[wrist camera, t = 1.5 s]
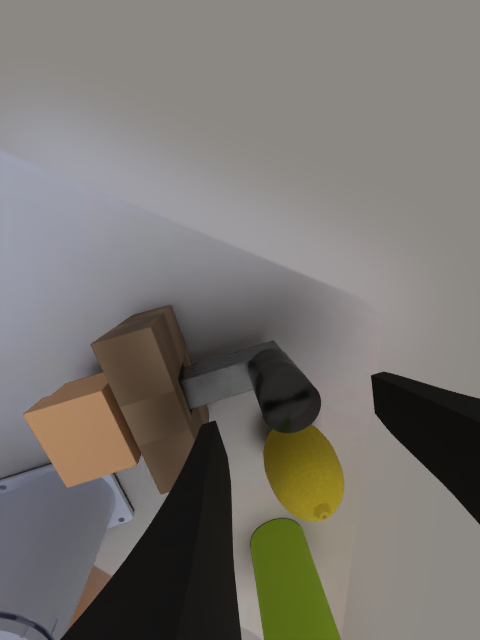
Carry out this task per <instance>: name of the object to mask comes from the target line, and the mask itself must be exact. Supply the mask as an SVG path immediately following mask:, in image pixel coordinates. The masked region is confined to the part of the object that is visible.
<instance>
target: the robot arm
mask: <svg viewBox="0 0 480 640" xmlns="http://www.w3.org/2000/svg"><path fill="white" fill-rule="evenodd" d="M371 379H372V389H373V399H374V409H375V414H376V415H377V416H378V418H379V419H380V420H381V422H382V423H383V424H384V425H385V426H386V428H387V429H388V430H389V431H390V432H391V434H393V435H394V437H395V438H396V439H397V440H398V441H399V442H400V443H402V444H403V445H404V446H405V447H406V448H407V449H408V450H409V451H410V452H411V453H412V454H413V455H414V456H415V457H416V458H417V459H418V460H419V461H420V462H421V463H422V464H423V465H424V466H425V467H426V468H427V469H428V470H429V471H430V472H431V473H432V474H433V475H434V476H436V478H437V479H439V480H440V481H441V482H442V483H443V484H444V486H446V487H447V489H448V490H449V491H451V493H452V494H453V495H454V496H455V497H456V498H457V499H458V500H459V502H460V503H461V504H462V505H463V506H464V507H465V508H466V509H467V511H468V512H469V513H470V514H471V515H472V516H473V517H474V518H475V519H476V521H477V522H478V523H479V524H480V399H479V398H475V397H471V396H467V395H463V394H459V393H456V392H452V391H448V390H445V389H442V388H438V387H435V386H431V385H428V384H425V383H422V382H419V381H415V380H412V379H409V378H405V377H402V376H399V375H395V374H391V373H387V372H381V373H377V374H374V375H371ZM133 515H134V512H133V510H132V508H131V507H130V505H129V503H128V501H127V499H126V497H125V495H124V493H123V491H122V489H121V488H120V486H119V484H118V482H117V480H116V478H115V476H114V474H113V473H112V474H109V475H106V476H103V477H99V478H96V479H93V480H90V481H87V482H84V483H81V484H78V485H75V486H72V487H69V488H67V487H66V485H65V484H64V482H63V481H62V479H61V477H60V476H59V474H58V472H57V471H56V469H55V467H54V466H53V464H50V465H47V466H44V467H40V468H37V469H34V470H31V471H28V472H24V473H21V474H18V475H15V476H12V477H9V478H5V479H2V480H0V640H242V639H241V630H240V621H239V611H238V602H237V592H236V582H235V572H234V560H233V537H232V500H231V479H230V471H229V463H228V457H227V454H226V451H225V448H224V445H223V441H222V438H221V435H220V432H219V429H218V426H217V423H216V421H212V422H209V423H206V424H202V425H201V427H200V429H199V432H198V434H197V437H196V439H195V441H194V444H193V446H192V448H191V451H190V453H189V455H188V457H187V459H186V461H185V463H184V465H183V468H182V470H181V472H180V474H179V475H178V477H177V479H176V481H175V483H174V485H173V487H172V489H171V490H170V492H169V494H168V496H167V498H166V499H165V501H164V503H163V504H162V506H161V508H160V509H159V511H158V513H157V514H156V516H155V517H154V519H153V521H152V522H151V524H150V525H149V527H148V528H147V530H146V531H145V533H144V534H143V536H142V537H141V538H140V540H139V541H138V543H137V544H136V546H135V547H134V548H133V550H132V551H131V553H130V554H129V555H128V557H127V558H126V560H125V561H124V562H123V564H122V565H121V566H120V567H119V569H118V570H117V571H116V573H115V574H114V575H113V577H112V578H111V579H110V581H109V582H108V583H107V584H106V586H105V587H104V588H103V589H102V590H101V592H100V593H99V594H98V595H97V597H96V598H95V599H94V600H93V602H92V603H91V604H90V605H89V606H88V608H87V609H86V610H85V611H84V612H83V614H82V615H81V616H80V617H79V618H78V620H77V621H76V622H75V623H74V624H73V625H72V626H71V628H70V629H69V626H70V623H71V621H72V618H73V616H74V613H75V610H76V608H77V605H78V603H79V600H80V597H81V595H82V592H83V589H84V587H85V584H86V582H87V579H88V577H89V574H90V571H91V569H92V566H93V563H94V561H95V558H96V556H97V553H98V550H99V548H100V545H101V543H102V540H103V537H104V535H105V532H106V530H107V529H108V528H111V527H114V526H117V525H120V524H123V523H126V522H129V521H131V520H132V518H133ZM68 629H69V630H68Z"/></svg>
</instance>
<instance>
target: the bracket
mask: <svg viewBox="0 0 480 640" xmlns="http://www.w3.org/2000/svg"><path fill="white" fill-rule="evenodd" d="M90 345H91V347H92V349H93V351H94V353H95V356H96V358H97V360H98V362H99V364H100V366H101V368H102V370H103V373H104V375H105V377H106V379H107V381H108V383H109V385H110V387H111V390H112V392H113V394H114V396H115V398H116V400H117V402H118V405H119V407H120V409H121V411H122V413H123V415H124V417H125V419H126V422H127V424H128V426H129V428H130V430H131V432H132V434H133V436H134V439H135V441H136V443H137V445H138V447H139V449H140V451H141V454H142V456H143V458H144V460H145V462H146V464H147V466H148V468H149V471H150V473H151V475H152V477H153V479H154V481H155V483H156V485H157V488H158V490H159V492H160V494H164V493H167V492H170V490H171V489H172V487H173V485H174V483H175V481H176V479H177V477H178V475H179V474H180V472H181V470H182V468H183V465H184V463H185V461H186V459H187V457H188V455H189V453H190V451H191V448H192V446H193V444H194V441H195V439H196V437H197V434H198V432H199V429H200V427H201V425H202V424H206V423H209V411H208V409H207V406H206V404H205V405H202V406H199V407H196V408H192V409H189V408H188V405H187V403H186V400H185V397H184V395H183V392H182V390H181V387H180V384H179V382H178V377H179V373H180V370H181V368H183V367H186V366H190V365H192V363H191V360H190V357H189V355H188V352H187V349H186V346H185V343H184V340H183V337H182V335H181V332H180V329H179V326H178V323H177V320H176V318H175V315H174V312H173V309H172V306H171V305H168V306H164V307H161V308H157V309H154V310H150V311H147V312H143V313H140V314H136V315H133V316H131V317H130V318H128V319H127V320H125V321H124V322H122V323H121V324H119V325H118V326H116V327H115V328H113V329H112V330H111V331H109V332H108V333H106V334H105V335H103V336H102V337H100V338H99V339H97V340H96V341H95V342H93V343H92V344H90Z"/></svg>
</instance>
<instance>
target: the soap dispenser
mask: <svg viewBox="0 0 480 640" xmlns="http://www.w3.org/2000/svg"><path fill="white" fill-rule="evenodd" d="M250 547H251V554H252V561H253V567H254V574H255V581H256V588H257V595H258V601H259V608H260V615H261V622H262V629H263V635H264V640H341V639H340V636H339V633H338V630H337V627H336V624H335V621H334V619H333V616H332V613H331V610H330V607H329V604H328V602H327V599H326V596H325V593H324V590H323V587H322V584H321V582H320V579H319V576H318V573H317V570H316V567H315V564H314V562H313V559H312V556H311V553H310V550H309V547H308V545H307V542H306V539H305V536H304V533H303V530H302V528H301V526H300V525H299V524H298V523H296V522H295V521H293V520H289V519H276V520H272V521H269V522H267V523H265V524H263V525H262V526H261V527H259V528H258V529H257V530H256V531H255V533H254V534H253V536H252V538H251V542H250Z"/></svg>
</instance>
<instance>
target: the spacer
mask: <svg viewBox="0 0 480 640" xmlns="http://www.w3.org/2000/svg"><path fill="white" fill-rule="evenodd" d="M23 416H24V418H25V420H26V421H27V423H28V425H29V426H30V428H31V429H32V431H33V433H34V434H35V436H36V438H37V439H38V441H39V443H40V444H41V446H42V448H43V449H44V451H45V453H46V454H47V456H48V457H49V459H50V461H51V462H52V464H53V466H54V467H55V469H56V471H57V472H58V474H59V476H60V477H61V479H62V481H63V482H64V484H65V485H66V487H67V488H69V487H72V486H75V485H78V484H81V483H84V482H87V481H90V480H93V479H96V478H99V477H103V476H106V475H109V474H112V473H115V472H118V471H121V470H124V469H127V468H130V467H134V466H137V464H138V462H139V459H140V456H141V451H140V449H139V447H138V445H137V443H136V441H135V439H134V436H133V434H132V432H131V430H130V428H129V426H128V424H127V422H126V419H125V417H124V415H123V413H122V411H121V409H120V407H119V405H118V402H117V400H116V398H115V396H114V394H113V392H112V390H111V387H110V385H109V383H108V381H107V379H106V377H105V375H104V373H99V374H96V375H92V376H89V377H86V378H82V379H79V380H76V381H72V382H69V383H65V384H64V385H63V386H62V387H61V388H59V389H58V390H57V391H56V392H55V393H53V394H52V395H51V396H48V397H45V398H42V399H41V400H40V401H39V402H37V403H36V404H35V405H34V406H32V407H31V408H30V409H29V410H28V411H26V412H25V413H24V414H23Z"/></svg>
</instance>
